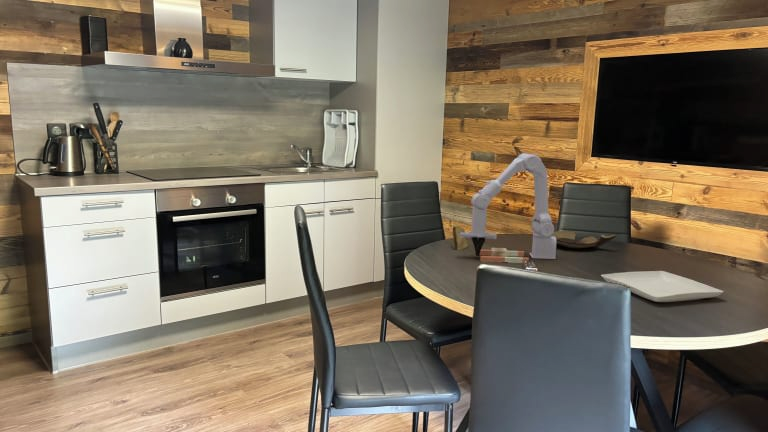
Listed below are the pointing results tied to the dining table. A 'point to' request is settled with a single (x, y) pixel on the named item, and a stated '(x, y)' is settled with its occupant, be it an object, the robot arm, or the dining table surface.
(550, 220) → the robot arm
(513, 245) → the dining table surface
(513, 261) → the pink-beige flat slab
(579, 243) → the dark brown bowl
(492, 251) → the maple block
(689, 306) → the dining table surface
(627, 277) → the square plate
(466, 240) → the rock
